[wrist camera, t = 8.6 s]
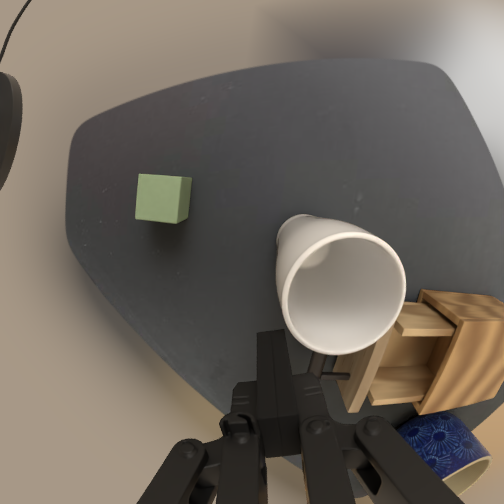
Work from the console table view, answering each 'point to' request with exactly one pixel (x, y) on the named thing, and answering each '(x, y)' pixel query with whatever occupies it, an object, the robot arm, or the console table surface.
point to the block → (163, 198)
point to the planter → (447, 448)
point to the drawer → (393, 360)
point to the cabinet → (466, 351)
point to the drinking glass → (336, 284)
